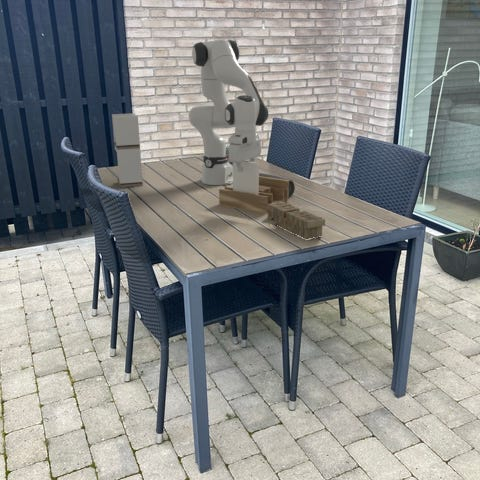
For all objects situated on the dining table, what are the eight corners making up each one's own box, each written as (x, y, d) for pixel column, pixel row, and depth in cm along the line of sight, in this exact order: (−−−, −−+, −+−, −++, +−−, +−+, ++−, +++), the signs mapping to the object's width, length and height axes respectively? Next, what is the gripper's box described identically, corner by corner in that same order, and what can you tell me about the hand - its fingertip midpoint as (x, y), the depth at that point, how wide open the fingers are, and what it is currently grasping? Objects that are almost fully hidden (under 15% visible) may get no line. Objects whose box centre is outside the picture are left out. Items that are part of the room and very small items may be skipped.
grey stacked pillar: (139, 180, 276) (134, 113, 263) (142, 185, 266) (137, 116, 254) (117, 182, 272) (111, 114, 260) (120, 187, 263) (114, 117, 251)
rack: (243, 197, 245) (243, 173, 241) (288, 205, 233) (288, 180, 229) (218, 208, 229) (218, 182, 225) (265, 217, 217) (266, 190, 213)
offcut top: (244, 188, 235) (244, 183, 235) (270, 193, 228) (270, 187, 227) (236, 191, 231) (236, 186, 230) (263, 196, 223) (263, 190, 222)
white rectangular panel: (235, 204, 229) (234, 159, 222) (258, 208, 223) (259, 162, 216) (233, 205, 228) (232, 160, 221) (256, 209, 222) (257, 163, 215)
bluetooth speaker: (246, 193, 253) (246, 173, 249) (258, 189, 259) (258, 169, 255) (282, 202, 238) (283, 181, 235) (295, 198, 244) (295, 177, 241)
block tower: (265, 222, 214) (307, 242, 190) (265, 203, 211) (307, 220, 187) (282, 219, 217) (324, 239, 193) (282, 200, 215) (325, 217, 190)
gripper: (252, 132, 225) (252, 164, 229) (225, 139, 208) (226, 173, 213) (265, 133, 221) (264, 165, 226) (238, 141, 205) (238, 175, 210)
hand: (245, 169), depth 220 cm, fingers open, 7 cm apart
